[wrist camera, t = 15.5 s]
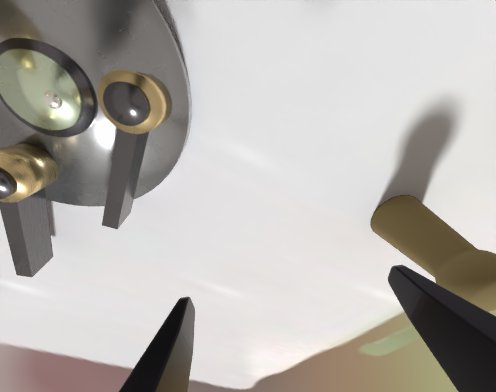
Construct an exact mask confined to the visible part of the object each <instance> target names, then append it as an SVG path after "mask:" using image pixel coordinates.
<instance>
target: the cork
mask: <svg viewBox="0 0 496 392" xmlns="http://www.w3.org/2000/svg"><path fill="white" fill-rule="evenodd" d="M371 228H372V230H373V231H374V232H375V233H376V234H378V235H379V236H380V237H382V238H383V239H384V240H386V241H387V242H388V243H390V244H391V245H392V246H394V247H395V248H396V249H398V250H399V251H400V252H402V253H403V254H404V255H406V256H407V257H408V258H410V259H411V260H412V261H414V262H415V263H416V264H418V265H419V266H420V267H422V268H423V269H424V270H426V271H427V272H428V273H430V274H431V275H432V276H434V277H435V280H436V284H438V285H440V286H442V287H444V288H445V289H447V290H449V291H451V292H453V293H454V294H456V295H458V296H460V297H462V298H463V299H465V300H467V301H469V302H471V303H472V304H474V305H476V306H478V307H480V308H481V309H483V310H485V311H487V312H489V311H492V310H496V254H494V253H492V252H488V251H484V250H478V249H477V248H475V247H474V246H473V245H472V244H471V243H469V242H468V241H467V240H466V239H464V238H463V237H462V236H461V235H460V234H458V233H457V232H456V231H455V230H454V229H452V228H451V227H450V226H449V225H448V224H446V223H445V222H444V221H443V220H442V219H440V218H439V217H438V216H437V215H436V214H434V213H433V212H432V211H431V210H429V209H428V208H427V207H426V206H425V205H423V204H422V203H421V202H420V201H419V200H417V199H416V198H415V197H413V196H409V195H400V196H397V197H393V198H391V199H389V200H388V201H386V202H384V203H383V204H382V205H381V206H380V207H378V208H377V210H376V211H375V213H374V214H373V216H372V219H371Z"/></svg>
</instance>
